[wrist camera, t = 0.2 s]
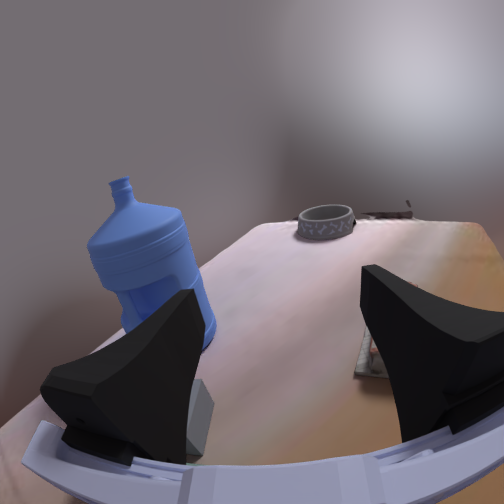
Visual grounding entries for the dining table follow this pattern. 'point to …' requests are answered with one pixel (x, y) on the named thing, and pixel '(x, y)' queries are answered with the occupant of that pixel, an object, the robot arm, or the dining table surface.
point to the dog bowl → (326, 222)
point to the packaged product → (371, 358)
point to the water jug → (146, 258)
